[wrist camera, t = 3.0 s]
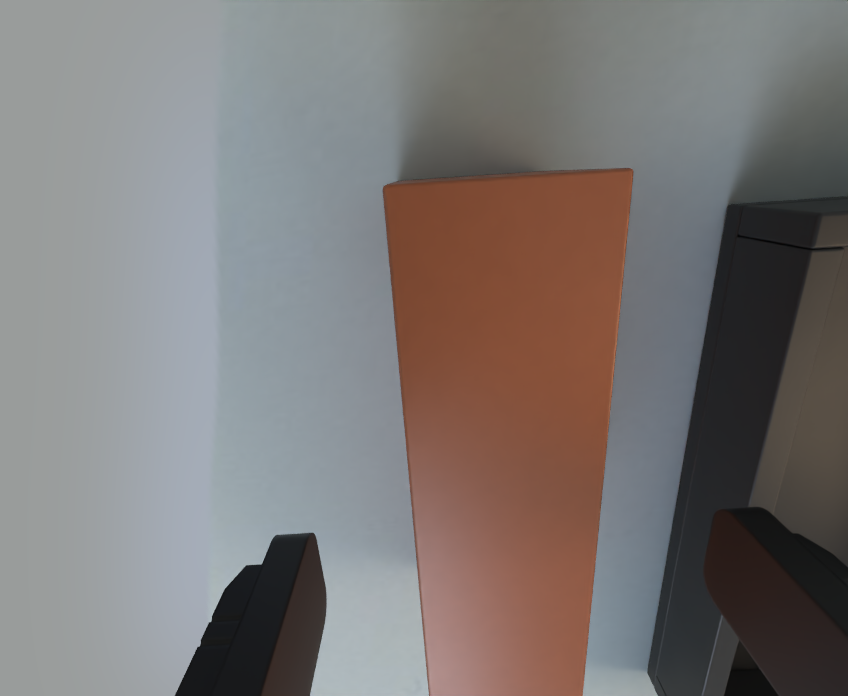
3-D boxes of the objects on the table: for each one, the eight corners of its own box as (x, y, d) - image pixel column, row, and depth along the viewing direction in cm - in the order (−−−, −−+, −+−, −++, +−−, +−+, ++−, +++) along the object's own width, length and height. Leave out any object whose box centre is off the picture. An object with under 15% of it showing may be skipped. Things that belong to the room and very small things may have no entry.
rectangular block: (396, 181, 12) (381, 184, 7) (543, 171, 12) (635, 168, 7) (427, 568, 17) (432, 734, 12) (531, 561, 17) (580, 726, 12)
